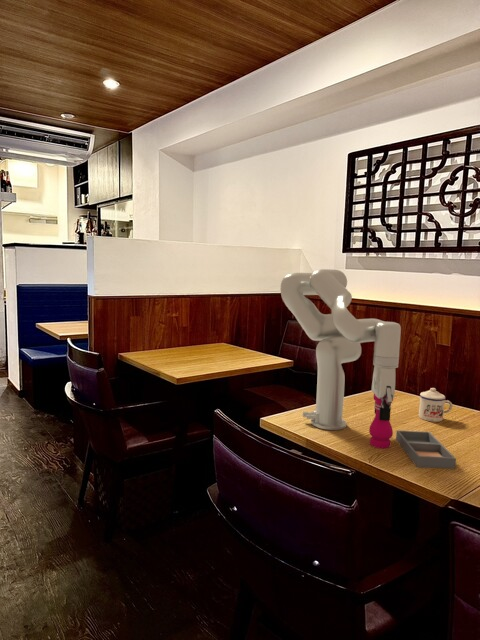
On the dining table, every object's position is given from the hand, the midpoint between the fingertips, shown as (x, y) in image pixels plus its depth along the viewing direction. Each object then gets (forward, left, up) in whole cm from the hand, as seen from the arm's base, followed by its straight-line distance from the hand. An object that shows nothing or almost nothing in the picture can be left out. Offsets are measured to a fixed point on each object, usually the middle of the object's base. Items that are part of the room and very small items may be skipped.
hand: (381, 416), depth 145 cm
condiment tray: (+12, -5, -9) cm, 16 cm away
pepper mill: (0, 0, -10) cm, 10 cm away
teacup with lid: (+28, +29, -10) cm, 41 cm away
